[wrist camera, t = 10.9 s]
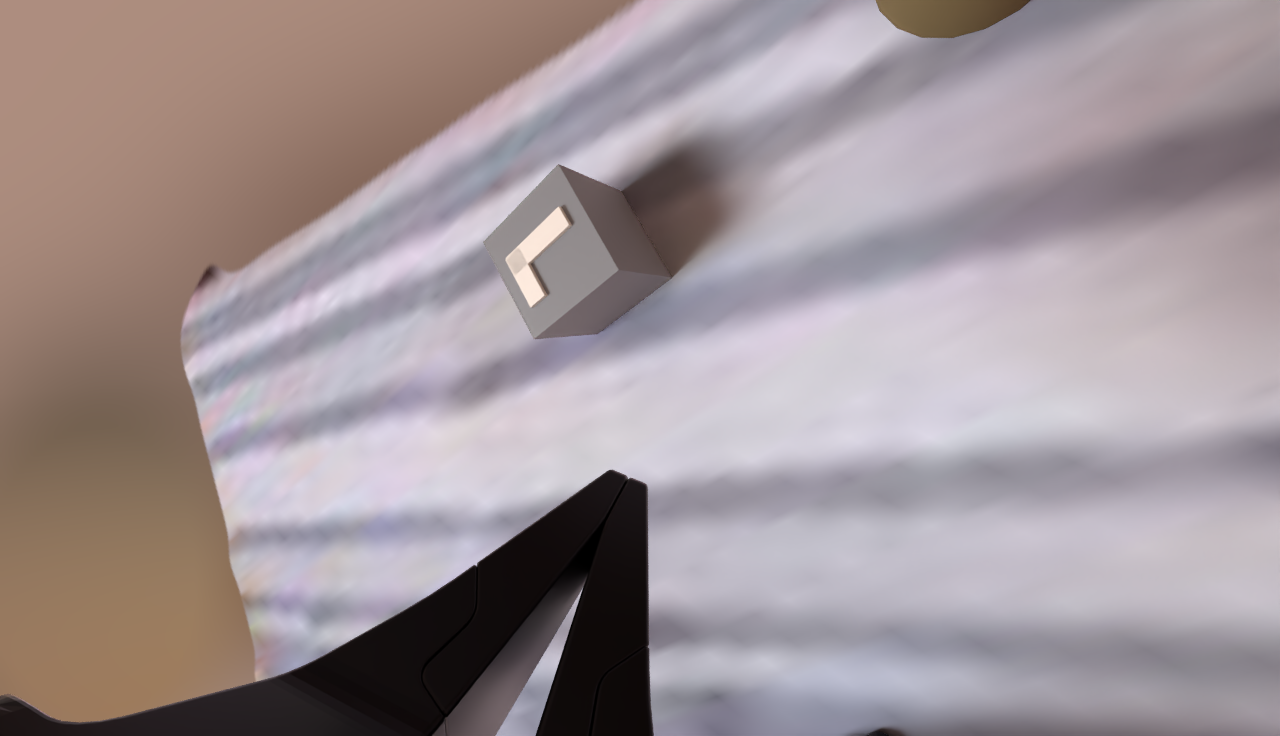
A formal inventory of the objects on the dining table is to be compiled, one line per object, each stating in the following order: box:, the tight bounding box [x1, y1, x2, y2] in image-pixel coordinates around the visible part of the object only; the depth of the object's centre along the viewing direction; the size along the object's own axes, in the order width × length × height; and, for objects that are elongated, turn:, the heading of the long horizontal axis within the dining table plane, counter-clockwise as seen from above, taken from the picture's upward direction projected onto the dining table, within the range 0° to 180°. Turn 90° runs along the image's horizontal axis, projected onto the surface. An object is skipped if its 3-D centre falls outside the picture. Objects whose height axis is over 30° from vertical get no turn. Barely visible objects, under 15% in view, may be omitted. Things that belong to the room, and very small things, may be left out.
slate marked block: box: [483, 164, 672, 339], centre depth 22 cm, size 5×5×5 cm
